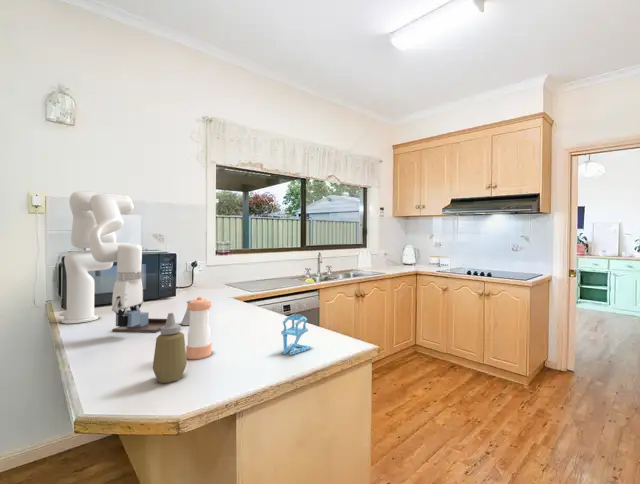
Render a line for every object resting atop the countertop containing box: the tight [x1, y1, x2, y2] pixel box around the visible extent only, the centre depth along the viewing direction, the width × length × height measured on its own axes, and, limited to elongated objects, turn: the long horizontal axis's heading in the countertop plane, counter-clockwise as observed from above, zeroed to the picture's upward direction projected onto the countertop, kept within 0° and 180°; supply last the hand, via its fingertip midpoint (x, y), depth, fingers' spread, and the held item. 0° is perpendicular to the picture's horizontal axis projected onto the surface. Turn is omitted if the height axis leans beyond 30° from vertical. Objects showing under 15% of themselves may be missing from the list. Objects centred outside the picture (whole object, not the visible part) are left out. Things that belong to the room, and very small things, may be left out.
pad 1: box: [115, 309, 142, 327], centre depth 128 cm, size 6×5×5 cm
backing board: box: [111, 317, 167, 333], centre depth 142 cm, size 18×12×2 cm, turn 88°
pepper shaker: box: [185, 296, 212, 360], centre depth 110 cm, size 7×7×19 cm
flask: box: [180, 299, 193, 326], centre depth 149 cm, size 7×7×10 cm
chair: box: [280, 313, 311, 356], centre depth 116 cm, size 8×8×12 cm
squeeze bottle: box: [152, 312, 188, 384], centre depth 92 cm, size 8×8×18 cm
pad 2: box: [133, 311, 149, 327], centre depth 142 cm, size 6×5×5 cm
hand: (128, 323), depth 128 cm, fingers closed on pad 1, 4 cm apart
